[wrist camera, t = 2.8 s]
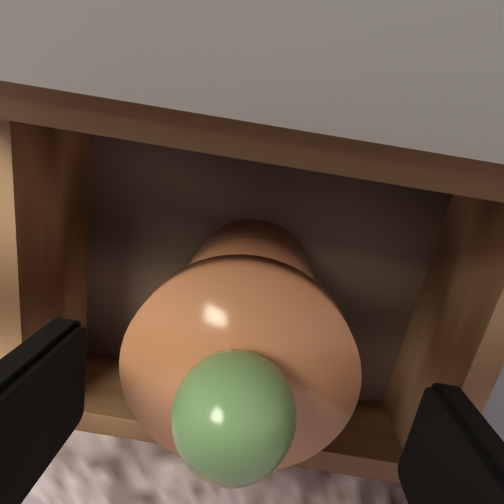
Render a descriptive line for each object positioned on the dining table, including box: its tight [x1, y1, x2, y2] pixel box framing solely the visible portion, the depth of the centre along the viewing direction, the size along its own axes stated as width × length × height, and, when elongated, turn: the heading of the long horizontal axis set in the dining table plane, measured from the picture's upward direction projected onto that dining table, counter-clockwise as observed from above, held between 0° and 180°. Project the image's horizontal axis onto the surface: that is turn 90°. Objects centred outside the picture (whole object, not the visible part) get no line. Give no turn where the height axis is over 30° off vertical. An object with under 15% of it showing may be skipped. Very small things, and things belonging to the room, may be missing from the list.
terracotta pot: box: [119, 219, 362, 488], centre depth 11 cm, size 6×6×10 cm
